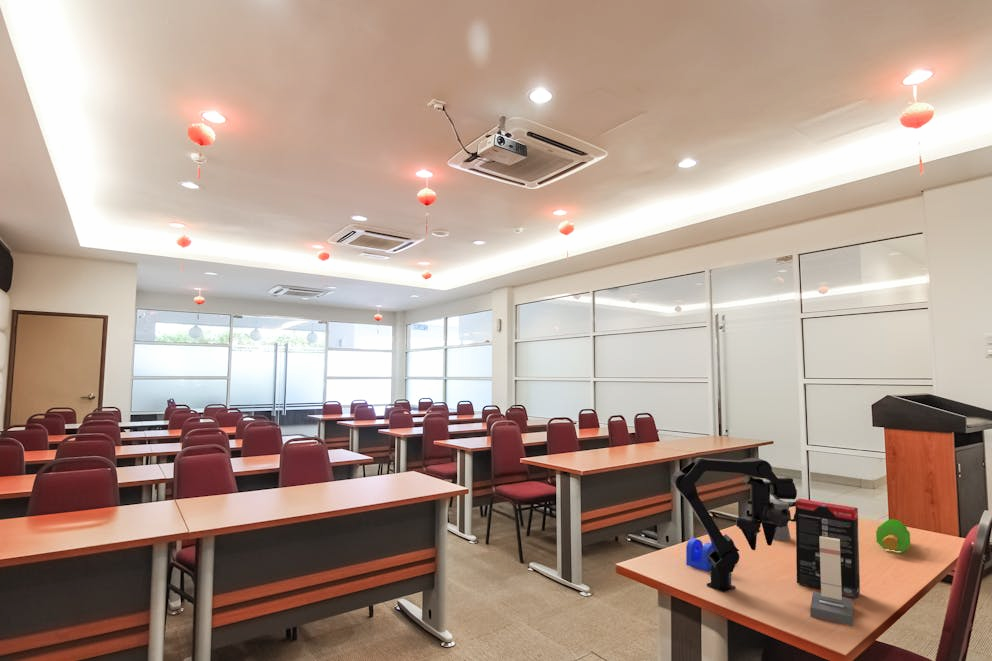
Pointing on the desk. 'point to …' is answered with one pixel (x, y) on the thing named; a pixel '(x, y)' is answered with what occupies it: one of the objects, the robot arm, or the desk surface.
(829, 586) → the strip
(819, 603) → the base
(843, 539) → the graphics card box
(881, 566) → the desk surface
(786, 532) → the coffeepot
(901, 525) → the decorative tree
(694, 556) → the bracket
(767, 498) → the robot arm
